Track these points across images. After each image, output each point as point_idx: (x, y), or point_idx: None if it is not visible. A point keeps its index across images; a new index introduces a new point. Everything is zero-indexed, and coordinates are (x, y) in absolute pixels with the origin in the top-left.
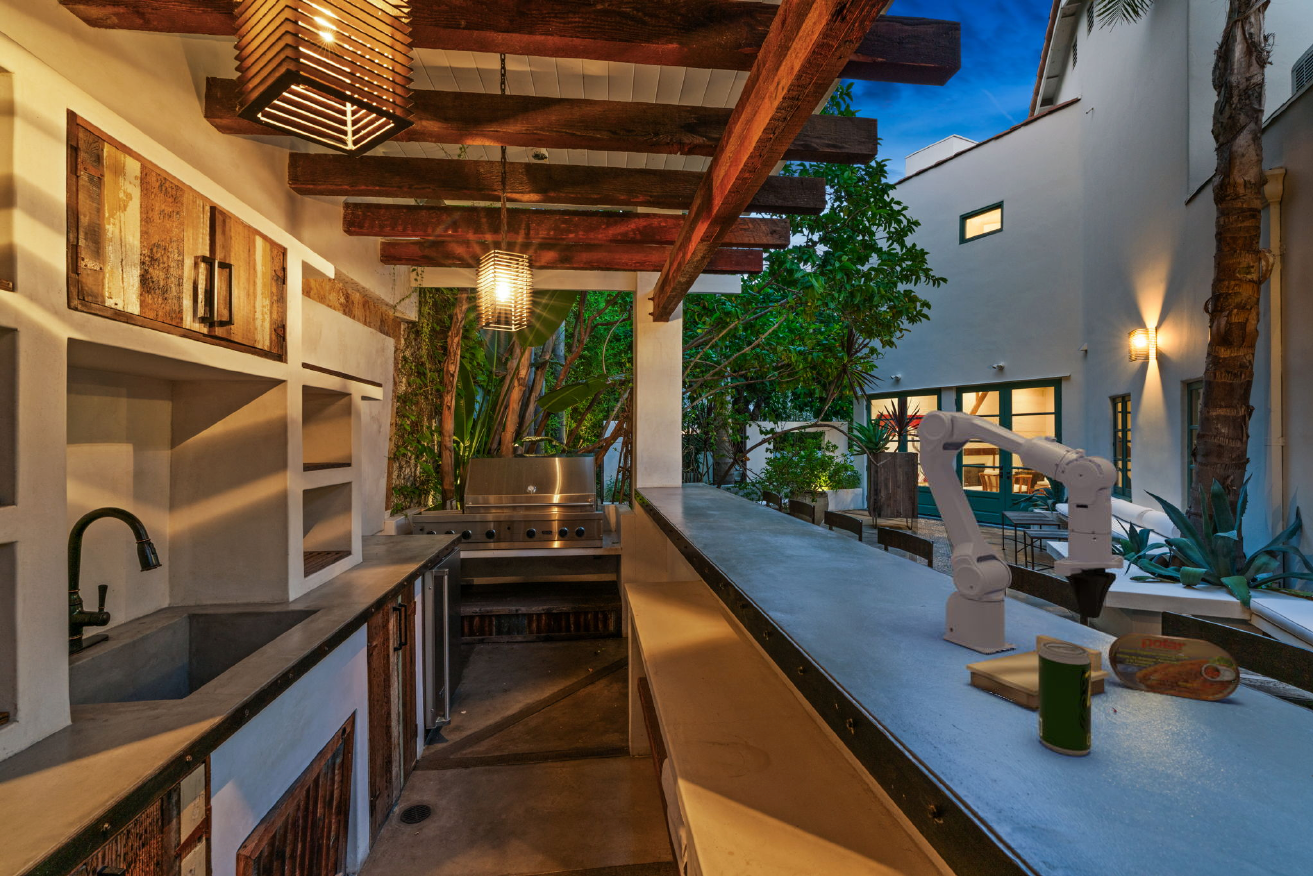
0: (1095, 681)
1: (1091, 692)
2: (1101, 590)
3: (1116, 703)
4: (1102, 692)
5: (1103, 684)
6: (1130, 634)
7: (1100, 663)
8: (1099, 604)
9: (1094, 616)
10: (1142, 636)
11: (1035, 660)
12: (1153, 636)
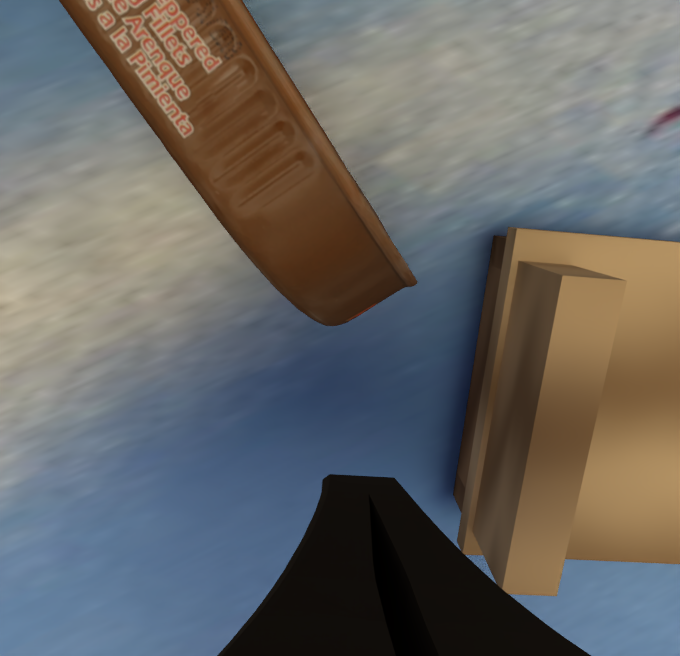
0: None
1: None
2: (440, 648)
3: (585, 148)
4: None
5: None
6: (302, 235)
7: (544, 266)
8: (370, 534)
9: (397, 484)
10: (303, 147)
11: (632, 480)
12: (279, 68)
